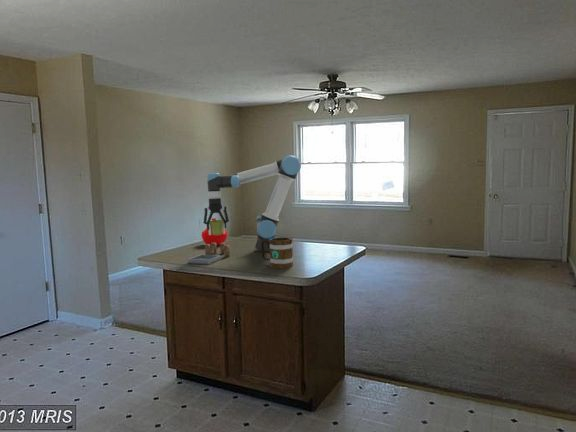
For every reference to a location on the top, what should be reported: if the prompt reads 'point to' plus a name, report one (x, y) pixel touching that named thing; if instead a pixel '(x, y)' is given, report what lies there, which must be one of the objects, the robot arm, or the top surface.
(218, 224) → the plant pot
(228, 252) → the posts
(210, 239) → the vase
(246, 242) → the top surface
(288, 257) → the mug
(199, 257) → the tray
